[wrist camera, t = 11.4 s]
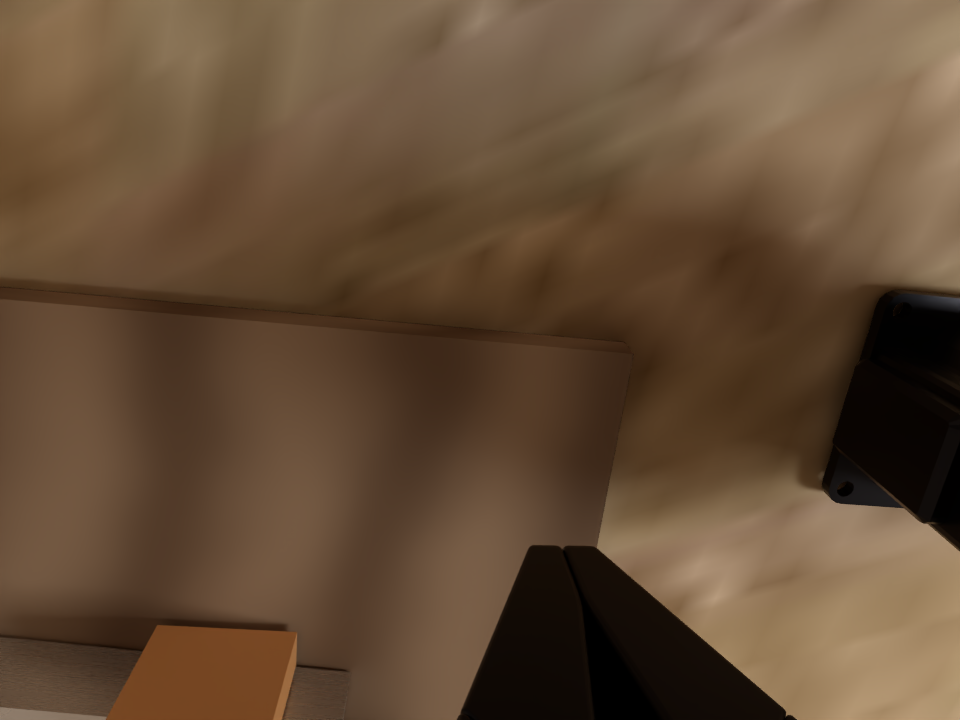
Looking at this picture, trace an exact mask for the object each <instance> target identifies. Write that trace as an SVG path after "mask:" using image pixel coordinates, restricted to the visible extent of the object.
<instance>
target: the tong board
mask: <svg viewBox="0 0 960 720" xmlns="http://www.w3.org/2000/svg"><path fill="white" fill-rule="evenodd" d="M633 355H634V354H633V353H632V351H631V350H630V349H629V347H628V346H627V345H626V343H625V342H616V341H605V340H594V339H583V338H571V337H560V336H549V335H537V334H526V333H515V332H503V331H492V330H481V329H469V328H458V327H447V326H435V325H424V324H413V323H401V322H390V321H379V320H368V319H356V318H345V317H334V316H322V315H311V314H300V313H288V312H277V311H266V310H254V309H243V308H232V307H220V306H209V305H198V304H187V303H175V302H164V301H153V300H141V299H130V298H119V297H107V296H96V295H85V294H73V293H62V292H51V291H39V290H28V289H17V288H5V287H0V637H7V638H17V639H27V640H36V641H46V642H56V643H66V644H76V645H86V646H96V647H106V648H116V649H125V650H135V651H143V650H144V649H145V647H146V645H147V643H148V641H149V639H150V638H151V636H152V634H153V632H154V630H155V628H156V627H157V625H168V626H188V627H208V628H228V629H247V630H267V631H287V632H297V656H296V667H303V668H313V669H323V670H333V671H343V672H350V678H349V685H348V692H347V699H346V705H345V712H344V719H343V720H457V718H458V716H459V715H460V712H461V709H462V707H463V704H464V702H465V700H466V697H467V695H468V692H469V690H470V688H471V685H472V683H473V680H474V678H475V675H476V673H477V671H478V668H479V666H480V663H481V661H482V659H483V656H484V654H485V651H486V649H487V647H488V644H489V642H490V639H491V637H492V634H493V632H494V630H495V627H496V625H497V622H498V620H499V618H500V615H501V613H502V610H503V608H504V606H505V603H506V601H507V598H508V596H509V594H510V591H511V589H512V586H513V584H514V581H515V579H516V577H517V574H518V572H519V569H520V567H521V565H522V562H523V560H524V557H525V555H526V553H527V550H528V548H529V547H530V546H531V545H557V546H559V547H561V548H562V549H563V548H564V547H565V546H593V547H595V548H597V543H598V538H599V532H600V527H601V522H602V517H603V512H604V506H605V501H606V496H607V491H608V486H609V480H610V475H611V470H612V465H613V460H614V454H615V449H616V444H617V439H618V433H619V428H620V423H621V418H622V413H623V407H624V402H625V397H626V392H627V387H628V381H629V376H630V371H631V366H632V361H633Z"/></svg>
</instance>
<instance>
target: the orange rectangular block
mask: <svg viewBox="0 0 960 720" xmlns="http://www.w3.org/2000/svg"><path fill="white" fill-rule="evenodd" d="M296 656H297V632H287V631H267V630H247V629H228V628H208V627H188V626H168V625H157V627H156V628H155V630H154V632H153V634H152V636H151V638H150V639H149V641H148V643H147V645H146V647H145V649H144V650H143V652H142V654H141V656H140V658H139V660H138V661H137V663H136V665H135V667H134V669H133V671H132V672H131V674H130V676H129V678H128V680H127V682H126V683H125V685H124V687H123V689H122V691H121V692H120V694H119V696H118V698H117V700H116V702H115V703H114V705H113V707H112V709H111V711H110V713H109V714H108V716H107V718H106V720H282V717H283V713H284V710H285V706H286V702H287V698H288V694H289V690H290V687H291V683H292V679H293V675H294V671H295V667H296Z"/></svg>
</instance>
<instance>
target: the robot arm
mask: <svg viewBox="0 0 960 720" xmlns="http://www.w3.org/2000/svg"><path fill="white" fill-rule="evenodd" d="M899 303H903V305H902V309H901V311H900V313H898V314H897V315H895V316H893V310H894V308H895V307H896V305H898V304H899ZM833 444H834V445H833V449H832V452H831V455H830V458H829V462H828V465H827V468H826V471H825V475H824V478H823V482H822V488H823V490H824V492H825V493H826V494H827V495H828V496H829V497H830V498H831V499H832V500H833V501H834V502H836V503H840V504H853V505H867V506H881V507H895V508H905V509H906V510H907V511H908V512H909V513H910V514H911V515H913V516H914V517H915V518H916V519H917V520H918V521H920V522H922V523H925V524H929V525H930V526H931V527H932V528H933V529H934V530H935V531H937V532H938V533H939V534H940V535H941V536H942V537H944V538H945V539H946V540H947V541H948V542H949V543H951V544H952V545H953V546H954V547H955V548H956V549H958V550H959V551H960V296H958V295H948V294H938V293H927V292H917V291H907V290H892V291H890V292H888V293H886V294H884V295H883V296H882V297H881V298H880V299H879V301H878V303H877V305H876V308H875V312H874V315H873V318H872V321H871V325H870V328H869V331H868V334H867V338H866V341H865V344H864V348H863V351H862V354H861V357H860V361H859V363H858V364H857V365H856V367H855V369H854V373H853V376H852V379H851V383H850V386H849V389H848V392H847V396H846V399H845V402H844V406H843V409H842V412H841V415H840V419H839V422H838V425H837V428H836V432H835V435H834V438H833ZM843 482H846V484H845V486H844V487H843V488H841V489H838V490H837V488H838V486H839V485H840V484H841V483H843ZM457 720H797V719H795V718H794V717H793V716H791V715H787V716H786V711H785V709H783V708H782V707H781V706H780V705H779V704H778V703H776V702H775V701H774V700H773V699H772V698H771V697H769V696H768V695H767V694H766V693H765V692H764V691H762V690H761V689H760V688H759V687H758V686H757V685H755V684H754V683H753V682H752V681H751V680H750V679H749V678H747V677H746V676H745V675H744V674H743V673H742V672H740V671H739V670H738V669H737V668H736V667H735V666H733V665H732V664H731V663H730V662H729V661H728V660H726V659H725V658H724V657H723V656H722V655H721V654H719V653H718V652H717V651H716V650H715V649H714V648H712V647H711V646H710V645H709V644H708V643H707V642H705V641H704V640H703V639H702V638H701V637H700V636H698V635H697V634H696V633H695V632H694V631H693V630H691V629H690V628H689V627H688V626H687V625H686V624H684V623H683V622H682V621H681V620H680V619H679V618H677V617H676V616H675V615H674V614H673V613H672V612H670V611H669V610H668V609H667V608H666V607H665V606H663V605H662V604H661V603H660V602H659V601H658V600H656V599H655V598H654V597H653V596H652V595H651V594H649V593H648V592H647V591H646V590H645V589H644V588H643V587H641V586H640V585H639V584H638V583H637V582H636V581H634V580H633V579H632V578H631V577H630V576H629V575H627V574H626V573H625V572H624V571H623V570H622V569H620V568H619V567H618V566H617V565H616V564H615V563H613V562H612V561H611V560H610V559H609V558H608V557H606V556H605V555H604V554H603V553H602V552H601V551H599V550H598V549H597V548H595V547H593V546H565V547H564V548H563V549H562V548H561V547H559V546H557V545H531V546H530V547H529V548H528V550H527V553H526V555H525V557H524V560H523V562H522V565H521V567H520V569H519V572H518V574H517V577H516V579H515V581H514V584H513V586H512V589H511V591H510V594H509V596H508V598H507V601H506V603H505V606H504V608H503V610H502V613H501V615H500V618H499V620H498V622H497V625H496V627H495V630H494V632H493V634H492V637H491V639H490V642H489V644H488V647H487V649H486V651H485V654H484V656H483V659H482V661H481V663H480V666H479V668H478V671H477V673H476V675H475V678H474V680H473V683H472V685H471V688H470V690H469V692H468V695H467V697H466V700H465V702H464V704H463V707H462V709H461V712H460V715H459V716H458V718H457Z"/></svg>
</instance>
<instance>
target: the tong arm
mask: <svg viewBox="0 0 960 720" xmlns="http://www.w3.org/2000/svg"><path fill="white" fill-rule="evenodd" d="M142 652H143V651H135V650H125V649H116V648H106V647H96V646H86V645H76V644H66V643H56V642H46V641H36V640H27V639H17V638H7V637H0V720H106V718H107V716H108V714H109V713H110V711H111V709H112V707H113V705H114V703H115V702H116V700H117V698H118V696H119V694H120V692H121V691H122V689H123V687H124V685H125V683H126V682H127V680H128V678H129V676H130V674H131V672H132V671H133V669H134V667H135V665H136V663H137V661H138V660H139V658H140V656H141V654H142ZM349 678H350V672H343V671H333V670H323V669H313V668H303V667H295V671H294V675H293V679H292V683H291V687H290V690H289V694H288V698H287V702H286V706H285V710H284V713H283V717H282V720H343V719H344V712H345V705H346V699H347V692H348V685H349Z"/></svg>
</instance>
